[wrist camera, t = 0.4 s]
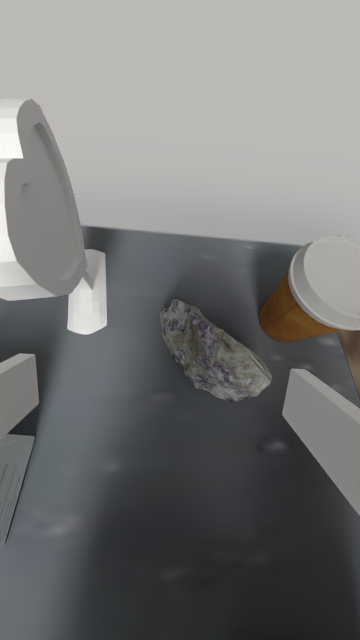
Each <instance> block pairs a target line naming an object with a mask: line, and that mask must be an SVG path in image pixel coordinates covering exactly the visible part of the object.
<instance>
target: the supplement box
mask: <svg viewBox="0 0 360 640" xmlns="http://www.w3.org/2000/svg"><path fill="white" fill-rule="evenodd" d="M34 440H35V437H34V436H27V435H13V434H6V435H5V436H4V437H3V438H2V439H1V440H0V549H1V548H2V547H3V546H4V544H5V541H6V537H7V534H8V530H9V527H10V523H11V520H12V516H13V513H14V510H15V506H16V503H17V499H18V496H19V492H20V489H21V485H22V482H23V478H24V475H25V471H26V468H27V464H28V461H29V458H30V454H31V451H32V447H33V443H34Z"/></svg>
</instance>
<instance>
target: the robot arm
mask: <svg viewBox="0 0 360 640" xmlns="http://www.w3.org/2000/svg"><path fill="white" fill-rule="evenodd" d="M38 404H39V395H38V383H37V371H36V359H35V354H21V353H19V354H17V355H15V356H13V357H11V358H9V359H7V360H5V361H3V362H1V363H0V440H1V439H2V438H3V437H4V436H5V435H6V434H7V433H8V432H9V431H10V430H11V429H12V428H13V427H14V426H16V425H17V424H18V423H19V422H20V421H21V420H22V419H23V418H24V417H25V416H26V415H27V414H28V413H29V412H30V411H32V410H33V409H34V408H35V407H36V406H37V405H38ZM282 415H283V417H284V418H285V419H286V421H287V422H288V423H289V425H290V426H291V427H292V428H293V430H294V431H295V432H296V434H297V435H298V436H299V438H300V439H301V440H302V442H303V443H304V444H305V445H306V447H307V448H308V449H309V451H310V452H311V453H312V455H313V456H314V457H315V458H316V460H317V461H318V462H319V464H320V465H321V466H322V468H323V469H324V470H325V471H326V473H327V474H328V475H329V477H330V478H331V479H332V481H333V482H334V483H335V485H336V486H337V487H338V488H339V490H340V491H341V492H342V494H343V495H344V496H345V498H346V499H347V500H348V501H349V503H350V504H351V505H352V507H353V508H354V509H355V511H356V512H357V513H358V514H359V516H360V408H358V407H357V406H355V405H354V404H353V403H351V402H350V401H348V400H347V399H346V398H344V397H343V396H342V395H340V394H339V393H337V392H336V391H335V390H333V389H332V388H330V387H329V386H328V385H326V384H325V383H324V382H322V381H321V380H319V379H318V378H317V377H315V376H314V375H312V374H311V373H310V372H308V371H307V370H305V369H291V371H290V376H289V381H288V386H287V391H286V396H285V402H284V407H283V412H282Z"/></svg>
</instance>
